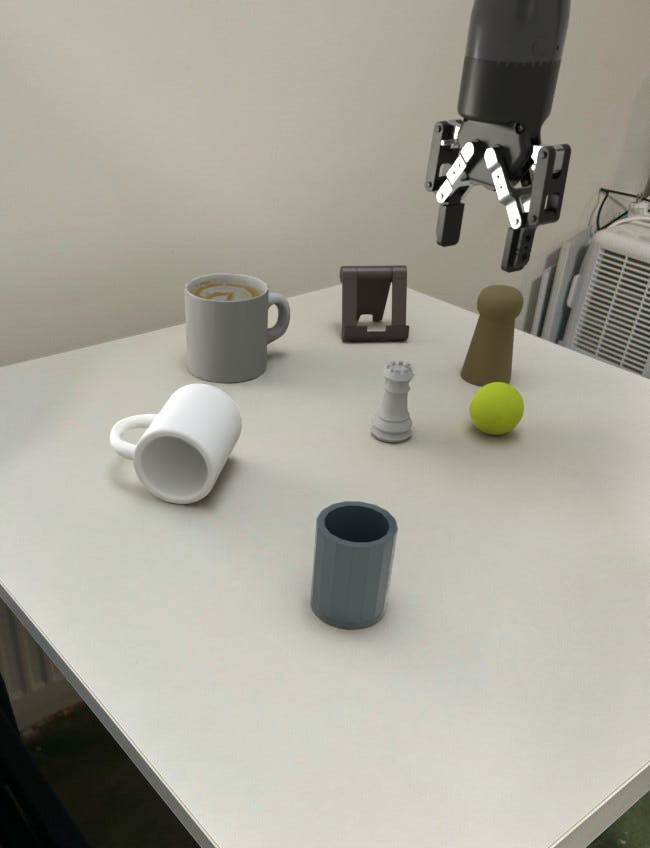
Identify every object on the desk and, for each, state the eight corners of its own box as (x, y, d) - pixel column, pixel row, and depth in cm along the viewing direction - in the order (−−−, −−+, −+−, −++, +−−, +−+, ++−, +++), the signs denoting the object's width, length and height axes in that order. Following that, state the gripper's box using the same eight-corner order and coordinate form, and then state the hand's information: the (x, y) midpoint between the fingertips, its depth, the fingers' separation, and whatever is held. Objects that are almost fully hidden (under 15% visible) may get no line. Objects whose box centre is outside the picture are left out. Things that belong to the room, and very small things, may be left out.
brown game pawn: (510, 368, 103) (528, 281, 97) (511, 389, 99) (531, 299, 92) (461, 363, 104) (476, 277, 98) (459, 384, 100) (475, 294, 93)
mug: (242, 458, 85) (242, 387, 80) (215, 510, 77) (214, 435, 72) (132, 443, 87) (126, 373, 83) (96, 492, 79) (87, 419, 75)
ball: (521, 425, 91) (532, 378, 88) (514, 448, 87) (525, 400, 84) (470, 415, 93) (479, 369, 90) (461, 438, 89) (470, 390, 86)
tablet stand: (342, 343, 109) (347, 280, 104) (333, 321, 116) (337, 261, 111) (407, 342, 110) (416, 280, 105) (395, 320, 116) (402, 260, 111)
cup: (393, 591, 68) (405, 511, 63) (374, 637, 63) (385, 554, 59) (324, 573, 70) (331, 494, 65) (300, 617, 65) (306, 535, 60)
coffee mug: (196, 386, 98) (193, 304, 92) (180, 353, 106) (177, 276, 100) (302, 375, 101) (307, 295, 95) (280, 344, 109) (283, 268, 103)
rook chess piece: (363, 427, 91) (370, 359, 86) (400, 421, 92) (409, 354, 87) (381, 446, 87) (389, 377, 82) (419, 440, 88) (429, 371, 84)
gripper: (618, 58, 62) (567, 273, 72) (486, 41, 72) (457, 231, 82) (546, 64, 59) (503, 287, 69) (419, 45, 69) (396, 242, 79)
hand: (478, 257), depth 75 cm, fingers open, 8 cm apart
